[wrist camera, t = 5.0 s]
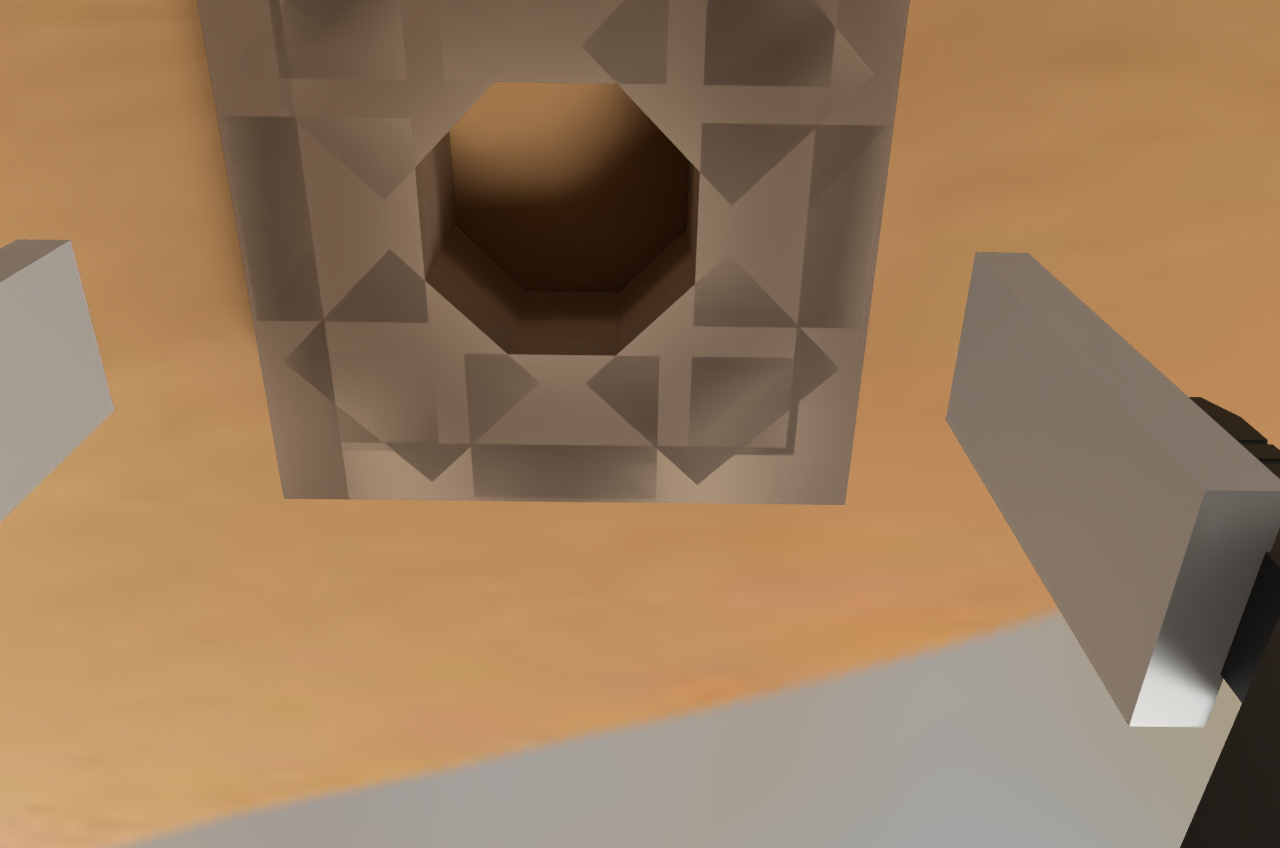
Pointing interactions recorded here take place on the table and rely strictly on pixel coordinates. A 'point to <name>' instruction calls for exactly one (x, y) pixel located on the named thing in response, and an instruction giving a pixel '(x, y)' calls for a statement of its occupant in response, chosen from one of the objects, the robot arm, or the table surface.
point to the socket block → (558, 320)
